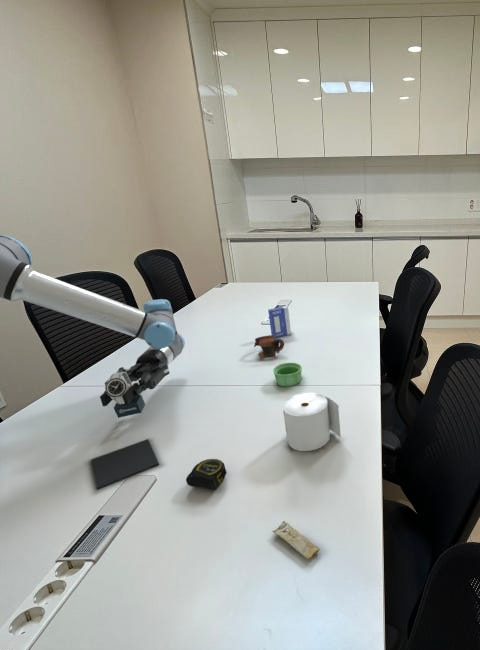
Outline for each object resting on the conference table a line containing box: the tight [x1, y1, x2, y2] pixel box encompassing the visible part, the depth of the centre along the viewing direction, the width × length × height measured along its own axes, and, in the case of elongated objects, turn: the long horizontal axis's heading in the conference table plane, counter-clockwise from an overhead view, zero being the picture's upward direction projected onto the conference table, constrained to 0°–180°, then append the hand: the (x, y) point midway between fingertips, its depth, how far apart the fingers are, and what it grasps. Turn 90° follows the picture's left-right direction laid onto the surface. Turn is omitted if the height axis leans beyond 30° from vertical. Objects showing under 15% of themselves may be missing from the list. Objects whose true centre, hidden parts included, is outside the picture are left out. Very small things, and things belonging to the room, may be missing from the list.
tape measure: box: [185, 458, 228, 491], centre depth 82 cm, size 7×7×4 cm
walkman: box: [267, 305, 292, 339], centre depth 160 cm, size 8×3×12 cm, turn 126°
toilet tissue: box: [282, 392, 342, 452], centre depth 95 cm, size 11×12×10 cm
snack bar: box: [272, 520, 321, 559], centre depth 68 cm, size 10×2×3 cm
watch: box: [104, 372, 146, 419], centre depth 100 cm, size 6×8×11 cm
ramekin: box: [272, 362, 303, 387], centre depth 124 cm, size 9×9×4 cm
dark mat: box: [90, 438, 160, 490], centre depth 89 cm, size 12×12×1 cm
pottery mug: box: [253, 334, 285, 360], centre depth 144 cm, size 12×10×8 cm
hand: (114, 400), depth 95 cm, fingers closed on watch, 5 cm apart
